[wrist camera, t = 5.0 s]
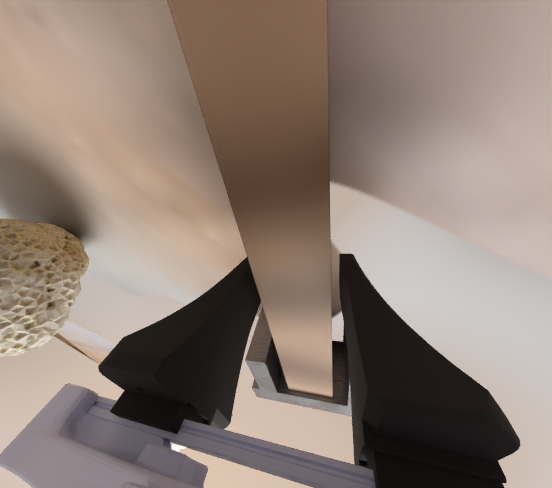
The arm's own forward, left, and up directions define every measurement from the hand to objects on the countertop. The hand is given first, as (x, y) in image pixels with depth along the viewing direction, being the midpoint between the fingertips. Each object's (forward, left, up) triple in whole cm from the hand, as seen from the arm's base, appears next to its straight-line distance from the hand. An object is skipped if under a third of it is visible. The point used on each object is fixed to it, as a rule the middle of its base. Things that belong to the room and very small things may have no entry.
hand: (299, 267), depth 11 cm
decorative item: (+21, -1, -3) cm, 21 cm away
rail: (0, 0, -3) cm, 3 cm away
